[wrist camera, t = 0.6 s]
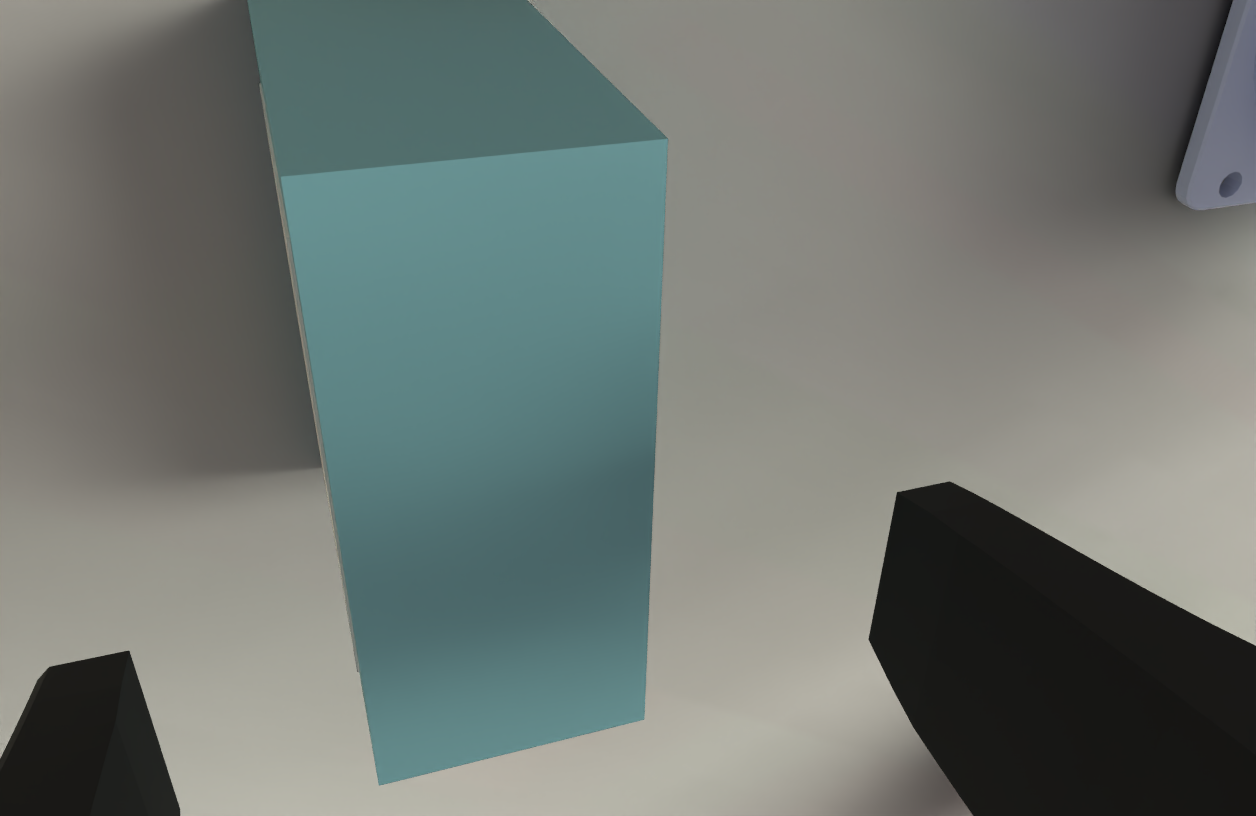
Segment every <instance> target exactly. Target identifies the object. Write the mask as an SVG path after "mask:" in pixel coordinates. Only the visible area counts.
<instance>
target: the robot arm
mask: <svg viewBox="0 0 1256 816" xmlns="http://www.w3.org/2000/svg"><path fill="white" fill-rule="evenodd" d="M1224 178H1225V180H1224V182H1223V183H1222V181H1223V179H1224ZM1221 183H1222V184H1221ZM1175 193H1176V196H1177V200H1178V201H1180V202H1181V203H1182V204H1184V205H1185V206H1187V207H1189V208H1191V209H1193V210H1208V209H1215V208H1222V207H1229V206H1237V205H1244V204H1251V203H1256V0H1233V2H1232V6H1231V9H1230V12H1229V15H1228V19H1227V22H1226V25H1225V28H1224V32H1223V35H1222V38H1221V41H1220V45H1219V48H1218V51H1217V54H1216V57H1215V61H1214V64H1213V67H1212V70H1211V74H1210V77H1209V80H1208V83H1207V87H1206V90H1205V93H1204V96H1203V100H1202V103H1201V106H1200V109H1199V112H1198V116H1197V119H1196V122H1195V125H1194V129H1193V132H1192V135H1191V138H1190V142H1189V145H1188V148H1187V151H1186V155H1185V158H1184V161H1183V164H1182V168H1181V171H1180V174H1179V177H1178V180H1177V185H1176V192H1175ZM869 641H870V643H871V645H872V647H873V649H874V652H875V654H876V656H877V658H878V660H879V662H880V664H881V666H882V668H883V670H884V672H885V674H886V676H887V678H888V680H889V682H890V684H891V686H892V688H893V690H894V692H895V694H896V696H897V698H898V699H899V701H900V703H901V705H902V707H903V709H904V711H905V713H906V714H907V716H908V718H909V720H910V722H911V724H912V726H913V727H914V729H915V730H916V732H917V733H918V735H919V737H920V738H921V740H922V741H923V743H924V744H925V746H926V747H927V749H928V750H929V752H930V753H931V755H932V756H933V757H934V759H935V760H936V762H937V763H938V765H939V766H940V768H941V769H942V771H943V772H944V774H945V775H946V777H947V778H948V779H949V781H950V782H951V784H952V785H953V787H954V788H955V790H956V791H957V793H958V794H959V796H960V797H961V799H962V800H963V801H964V803H965V804H966V806H967V807H968V809H969V810H970V811H971V813H972V814H973V816H1256V646H1255V645H1253V644H1251V643H1249V642H1247V641H1245V640H1243V639H1241V638H1239V637H1237V636H1235V635H1233V634H1231V633H1229V632H1227V631H1225V630H1223V629H1221V628H1219V627H1217V626H1215V625H1213V624H1211V623H1209V622H1207V621H1205V620H1203V619H1201V618H1199V617H1197V616H1195V615H1193V614H1192V613H1190V612H1188V611H1186V610H1184V609H1182V608H1180V607H1178V606H1176V605H1174V604H1172V603H1171V602H1169V601H1167V600H1165V599H1163V598H1161V597H1159V596H1158V595H1156V594H1154V593H1152V592H1150V591H1148V590H1147V589H1145V588H1143V587H1141V586H1139V585H1137V584H1136V583H1134V582H1132V581H1130V580H1128V579H1127V578H1125V577H1123V576H1121V575H1119V574H1117V573H1116V572H1114V571H1112V570H1110V569H1108V568H1107V567H1105V566H1103V565H1101V564H1100V563H1098V562H1096V561H1094V560H1092V559H1091V558H1089V557H1087V556H1085V555H1084V554H1082V553H1080V552H1078V551H1076V550H1075V549H1073V548H1071V547H1069V546H1068V545H1066V544H1064V543H1062V542H1061V541H1059V540H1057V539H1055V538H1054V537H1052V536H1050V535H1048V534H1046V533H1045V532H1043V531H1041V530H1039V529H1038V528H1036V527H1034V526H1032V525H1031V524H1029V523H1027V522H1025V521H1023V520H1022V519H1020V518H1018V517H1016V516H1014V515H1013V514H1011V513H1009V512H1007V511H1005V510H1004V509H1002V508H1000V507H998V506H996V505H995V504H993V503H991V502H989V501H987V500H985V499H983V498H982V497H980V496H978V495H976V494H974V493H972V492H970V491H968V490H966V489H964V488H962V487H960V486H958V485H956V484H954V483H952V482H945V483H940V484H935V485H930V486H925V487H921V488H916V489H911V490H906V491H901V492H897V495H896V500H895V506H894V511H893V516H892V521H891V526H890V531H889V537H888V542H887V547H886V552H885V557H884V563H883V568H882V573H881V578H880V583H879V588H878V594H877V599H876V604H875V609H874V614H873V619H872V625H871V630H870V635H869ZM0 816H180V808H179V804H178V801H177V798H176V795H175V792H174V789H173V786H172V783H171V779H170V776H169V773H168V770H167V767H166V764H165V761H164V758H163V754H162V751H161V748H160V745H159V742H158V739H157V736H156V733H155V730H154V726H153V723H152V720H151V717H150V714H149V711H148V708H147V705H146V701H145V698H144V695H143V692H142V689H141V686H140V683H139V680H138V676H137V673H136V670H135V667H134V664H133V661H132V658H131V655H130V651H124V652H119V653H114V654H110V655H105V656H100V657H95V658H90V659H85V660H81V661H76V662H71V663H66V664H61V665H56V666H51V667H49V668H48V669H47V670H46V671H45V672H44V673H43V675H42V676H41V677H40V678H39V679H38V680H37V683H36V685H35V687H34V689H33V691H32V694H31V696H30V698H29V700H28V702H27V704H26V707H25V709H24V711H23V713H22V715H21V717H20V719H19V721H18V723H17V726H16V728H15V730H14V732H13V734H12V736H11V738H10V740H9V742H8V744H7V746H6V748H5V750H4V752H3V754H2V756H1V758H0Z"/></svg>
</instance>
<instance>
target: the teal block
mask: <svg viewBox="0 0 1256 816" xmlns="http://www.w3.org/2000/svg"><path fill="white" fill-rule="evenodd" d="M247 2H248V8H249V15H250V21H251V27H252V33H253V39H254V45H255V51H256V57H257V63H258V69H259V76H260V82H261V83H259V88H260V94H261V100H262V106H263V112H264V118H265V124H266V130H267V136H268V142H269V148H270V154H271V160H272V166H273V173H274V179H275V185H276V191H277V197H278V203H279V209H280V215H281V221H282V227H283V233H284V239H285V245H286V251H287V257H288V263H289V270H290V276H291V282H292V288H293V294H294V300H295V306H296V312H297V318H298V324H299V330H300V336H301V342H302V348H303V354H304V360H305V367H306V373H307V379H308V385H309V391H310V397H311V403H312V409H313V415H314V421H315V427H316V433H317V439H318V445H319V451H320V457H321V463H322V469H323V475H324V481H325V486H326V492H327V498H328V504H329V510H330V515H331V521H332V527H333V533H334V539H335V545H336V550H337V556H338V562H339V568H340V574H341V579H342V585H343V591H344V597H345V603H346V608H347V614H348V620H349V626H350V632H351V638H352V643H353V649H354V655H355V661H356V667H357V672H359V673H360V679H361V685H362V690H363V696H364V702H365V708H366V713H367V719H368V725H369V731H370V737H371V742H372V748H373V754H374V760H375V765H376V771H377V777H378V783H379V785H384V784H388V783H392V782H396V781H400V780H404V779H408V778H412V777H416V776H420V775H424V774H428V773H432V772H436V771H440V770H444V769H448V768H452V767H456V766H460V765H464V764H468V763H472V762H476V761H480V760H484V759H488V758H492V757H496V756H500V755H504V754H508V753H512V752H516V751H520V750H524V749H528V748H532V747H536V746H540V745H544V744H548V743H552V742H556V741H560V740H564V739H568V738H572V737H576V736H580V735H584V734H588V733H592V732H596V731H600V730H604V729H608V728H612V727H616V726H620V725H624V724H628V723H632V722H636V721H640V720H644V714H645V689H646V664H647V640H648V615H649V591H650V566H651V542H652V517H653V492H654V468H655V443H656V419H657V394H658V370H659V345H660V320H661V296H662V271H663V247H664V222H665V198H666V173H667V148H668V138H667V137H666V136H665V135H664V134H663V133H662V132H661V131H660V130H658V129H657V128H656V127H655V126H654V125H653V124H652V123H651V122H650V121H649V120H648V119H647V118H646V117H645V116H644V115H643V114H642V113H641V112H640V111H639V110H638V109H637V108H636V107H635V106H634V105H633V104H632V103H631V102H630V101H629V100H628V99H627V98H626V97H625V96H624V95H623V94H622V93H621V92H620V91H619V90H618V89H617V88H616V87H615V86H614V85H613V84H612V83H611V82H610V81H609V80H608V79H607V78H606V77H605V76H603V75H602V74H601V73H600V72H599V71H598V70H597V69H596V68H595V67H594V66H593V65H592V64H591V63H590V62H589V61H588V60H587V59H586V58H585V57H584V56H583V55H582V54H581V53H580V52H579V51H578V50H577V49H576V48H575V47H574V46H573V45H572V44H571V43H570V42H569V41H568V40H567V39H566V38H565V37H564V36H563V35H562V34H561V33H560V32H559V31H558V30H557V29H556V28H555V27H554V26H553V25H552V24H551V23H550V22H549V21H547V20H546V19H545V18H544V17H543V16H542V15H541V14H540V13H539V12H538V11H537V10H536V9H535V8H534V7H533V6H532V5H531V4H530V3H529V2H528V1H527V0H247Z"/></svg>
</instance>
